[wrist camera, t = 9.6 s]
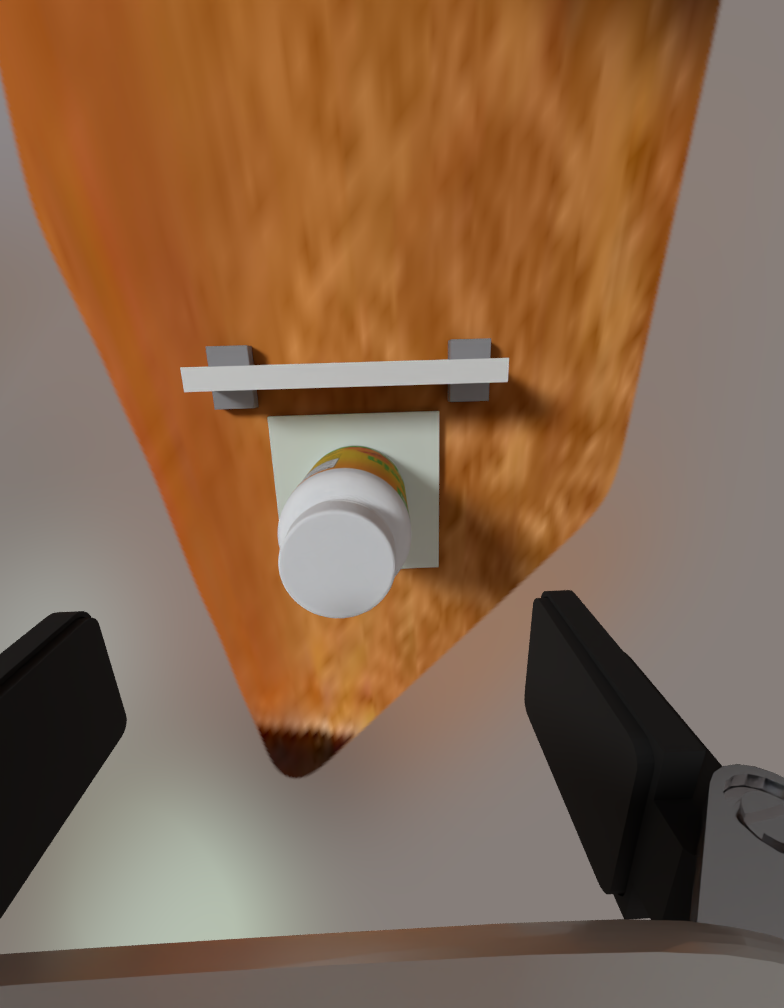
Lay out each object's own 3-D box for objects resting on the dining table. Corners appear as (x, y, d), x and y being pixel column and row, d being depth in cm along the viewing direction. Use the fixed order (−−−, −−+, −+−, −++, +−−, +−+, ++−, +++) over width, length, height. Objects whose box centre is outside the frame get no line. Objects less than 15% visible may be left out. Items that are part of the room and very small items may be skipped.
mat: (269, 416, 23) (267, 417, 22) (438, 410, 23) (439, 411, 23) (286, 570, 25) (285, 573, 25) (437, 564, 26) (438, 567, 25)
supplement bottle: (424, 502, 24) (449, 582, 15) (347, 555, 25) (324, 663, 15) (366, 423, 23) (352, 455, 13) (287, 481, 23) (222, 551, 14)
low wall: (211, 347, 22) (176, 342, 18) (487, 339, 22) (510, 332, 18) (220, 408, 22) (188, 415, 19) (484, 399, 23) (506, 405, 19)
